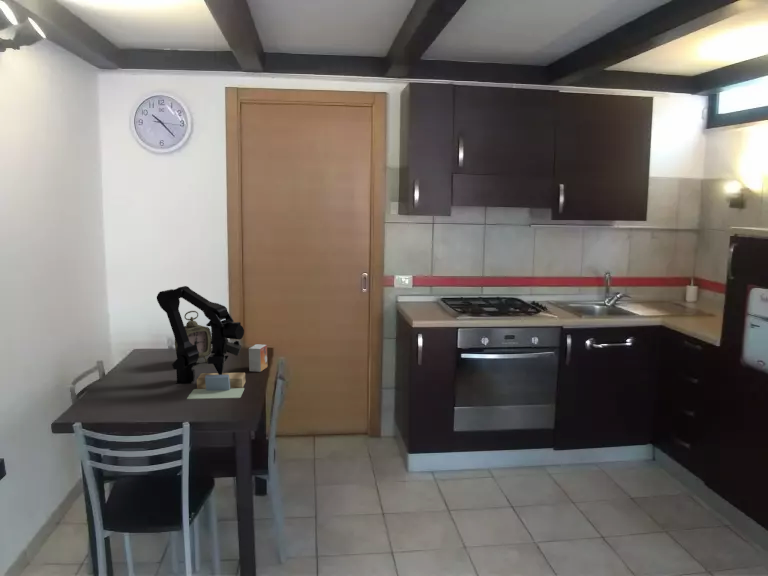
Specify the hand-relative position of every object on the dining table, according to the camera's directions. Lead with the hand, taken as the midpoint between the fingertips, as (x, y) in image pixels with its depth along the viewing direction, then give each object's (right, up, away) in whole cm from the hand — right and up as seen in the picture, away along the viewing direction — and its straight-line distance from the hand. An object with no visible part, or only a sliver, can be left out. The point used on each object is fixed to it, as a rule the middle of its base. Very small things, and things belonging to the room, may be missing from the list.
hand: (220, 374), depth 238 cm
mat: (+1, -6, -8) cm, 10 cm away
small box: (+10, -1, +25) cm, 27 cm away
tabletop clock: (-22, 0, +33) cm, 39 cm away
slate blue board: (0, -2, -4) cm, 4 cm away
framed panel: (0, -5, +2) cm, 5 cm away
